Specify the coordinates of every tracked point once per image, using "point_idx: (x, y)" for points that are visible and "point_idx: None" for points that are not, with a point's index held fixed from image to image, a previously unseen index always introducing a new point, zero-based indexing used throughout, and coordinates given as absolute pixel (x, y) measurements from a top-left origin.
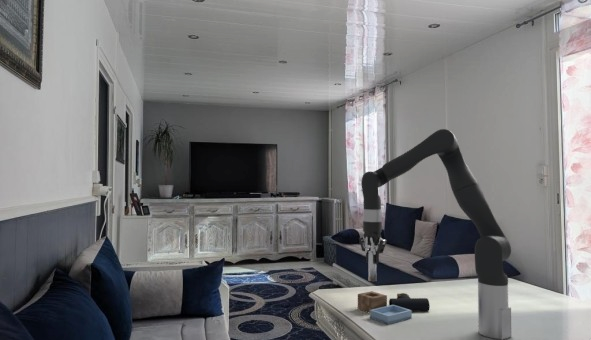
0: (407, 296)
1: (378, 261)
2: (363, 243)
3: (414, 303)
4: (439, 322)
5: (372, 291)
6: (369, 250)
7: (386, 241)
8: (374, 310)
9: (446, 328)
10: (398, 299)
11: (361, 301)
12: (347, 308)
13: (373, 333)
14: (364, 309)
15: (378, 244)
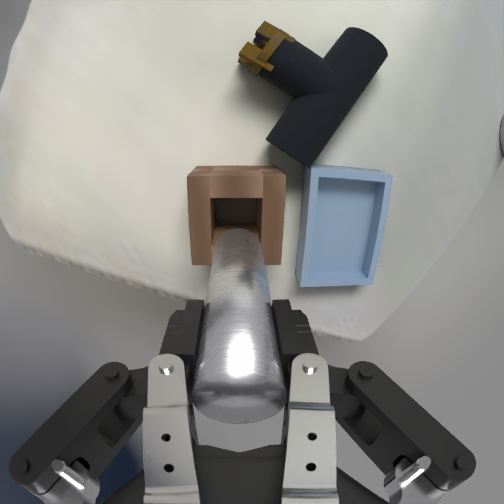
0: (313, 67)
1: (304, 318)
2: (102, 456)
3: (359, 95)
4: (439, 141)
5: (192, 177)
6: (197, 403)
7: (471, 454)
8: (308, 273)
9: (463, 174)
10: (317, 134)
11: None
12: (177, 263)
13: (365, 334)
14: None
15: (329, 451)
